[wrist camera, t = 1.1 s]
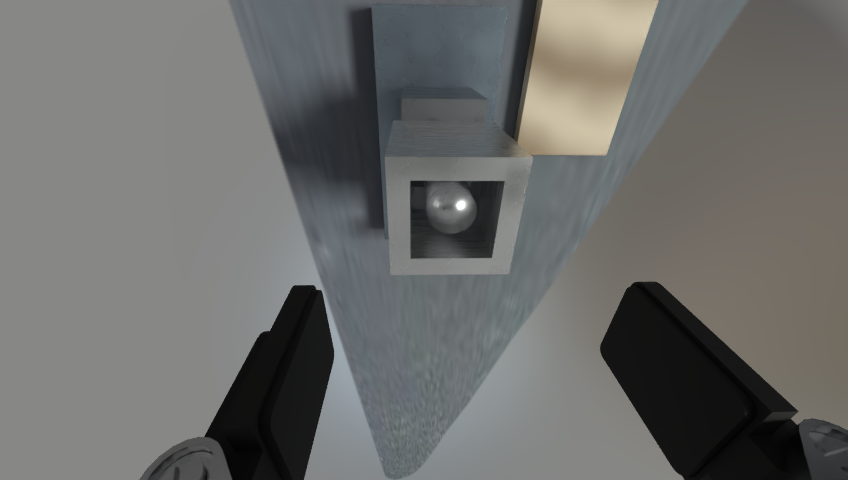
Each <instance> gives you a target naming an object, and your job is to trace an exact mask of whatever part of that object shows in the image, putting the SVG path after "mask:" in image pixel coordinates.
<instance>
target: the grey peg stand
mask: <svg viewBox="0 0 848 480" xmlns="http://www.w3.org/2000/svg"><path fill="white" fill-rule="evenodd" d="M371 7H372V24H373V41H374V58H375V75H376V92H377V109H378V126H379V143H380V161H381V178H382V195H383V212H384V229H385V239H389V232H388V213H387V193H386V173H385V153H386V149H387V145H388V140H389V136H390V132H391V128H392V124H393V120H400V121H486V122H493V120H494V113H495V105H496V98H497V90H498V82H499V75H500V67H501V60H502V52H503V44H504V37H505V29H506V22H507V14H508V7H474V6H437V5H399V4H371ZM470 186H471V181H411V198H426V209H427V217H428V220H429V222H430V224H431V225H432V227H433V228H435V229H436V230H438V231H440V232H442V233H447V234H454V233H459V232H461V231H463V230H465V229H467V228H468V227H469V226H470V225H471V224H472V223H473V221H474V219H475V217H476V213H477V207H476V203H475V201H474V198H473V196H472V193H471V191H470Z"/></svg>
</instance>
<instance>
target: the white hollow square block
mask: <svg viewBox="0 0 848 480" xmlns="http://www.w3.org/2000/svg"><path fill="white" fill-rule="evenodd" d="M532 161H533V157H532V156H531V155H530V154H529V153H528V152H527V151H525V150H524V149H523V148H522V147H521V146H520V145H519V144H518V143H517V142H516V141H515V140H513V139H512V138H511V137H510V136H509V135H508V134H507V133H506V132H505V131H504V130H503V129H501V128H500V127H499V126H498V125H497V124H496V123H495V122H486V121H400V120H393V124H392V128H391V132H390V136H389V140H388V145H387V149H386V153H385V173H386V193H387V213H388V232H389V252H390V272H391V275H447V274H509V271H510V266H511V261H512V256H513V252H514V247H515V242H516V237H517V233H518V228H519V223H520V218H521V214H522V209H523V204H524V199H525V195H526V190H527V185H528V180H529V176H530V171H531V166H532ZM411 181H471V186H470V191H471V193H472V196H473V198H474V201H475V203H476V207H477V213H476V217H475V219H474V221H473V223H472V224H471V225H470V226H469V227H468V228H467V229H465V230H463V231H461V232H459V233H454V234H447V233H442V232H440V231H438V230H436V229H435V228H433V227H432V225H431V224H430V222H429V220H428V217H427V209H426V198H411Z"/></svg>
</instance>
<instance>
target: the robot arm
mask: <svg viewBox="0 0 848 480" xmlns="http://www.w3.org/2000/svg"><path fill="white" fill-rule="evenodd" d="M600 351H601V355H602V357H603V359H604V360H605V361H606V363H607V365H608V366H609V368H610V369H611V371H612V373H613V374H614V376H615V377H616V379H617V381H618V382H619V384H620V385H621V387H622V389H623V390H624V392H625V393H626V395H627V396H628V398H629V400H630V401H631V403H632V404H633V406H634V407H635V409H636V411H637V412H638V414H639V415H640V417H641V418H642V420H643V422H644V423H645V425H646V426H647V428H648V430H649V431H650V433H651V434H652V436H653V437H654V439H655V441H656V442H657V444H658V445H659V447H660V448H661V450H662V452H663V453H664V455H665V456H666V458H667V460H668V461H669V463H670V464H671V466H672V467H673V468H674V470H675V471H676V472H677V473H678V474H680V475H682V476H683V478H684V480H848V430H846V429H844V428H842V427H840V426H838V425H835V424H832V423H830V422H827V421H824V420H818V419H813V418H812V419H805V420H803V421H802V422H800V423H799V424H798V425H797V424H795V423H794V422H793V421H792V420H791V419H790V418H792V417H793V416H794V415H795V414H796V413H797V412H798V411H797V410H796V409H795V408H794V407H793V406H792V405H791V404H790V403H789V402H788V401H787V400H786V399H784V398H783V397H782V396H781V395H780V394H779V393H778V392H777V391H776V390H775V389H774V388H772V387H771V386H770V385H769V384H768V383H767V382H766V381H765V380H764V379H763V378H762V377H761V376H759V375H758V374H757V373H756V372H755V371H754V370H753V369H752V368H751V367H750V366H749V365H748V364H746V363H745V362H744V361H743V360H742V359H741V358H740V357H739V356H738V355H737V354H736V353H735V352H733V351H732V350H731V349H730V348H729V347H728V346H727V345H726V344H725V343H724V342H723V341H722V340H720V339H719V338H718V337H717V336H716V335H715V334H714V333H713V332H712V331H710V329H709V328H707V327H706V326H705V325H704V324H703V323H702V322H701V321H700V320H699V319H698V318H696V317H695V316H694V315H693V314H692V313H691V312H690V311H689V310H688V309H687V308H686V307H685V306H684V305H682V304H681V303H680V302H679V301H678V300H677V299H676V298H675V297H674V296H673V295H672V294H671V293H669V292H668V291H667V290H666V289H665V288H664V287H663V286H662V285H661V284H659V283H657V282H635V283H633V284H632V285H631V286H630V287H628V288H627V289H626V291H625V293H624V296H623V298H622V300H621V302H620V304H619V306H618V309H617V311H616V313H615V315H614V317H613V319H612V321H611V324H610V326H609V328H608V330H607V332H606V334H605V337H604V339H603V341H602V343H601V346H600ZM333 360H334V348H333V343H332V338H331V333H330V328H329V323H328V318H327V313H326V308H325V304H324V298H323V294H322V291H321V290H316V287H315V286H314V285H303V286H302V285H297V286H296V285H295V286H293V287H292V289H291V291H290V293H289V294H288V297H287V299H286V300H285V302H284V304H283V306H282V308H281V310H280V312H279V314H278V316H277V318H276V320H275V322H274V324H273V326H272V328H271V330H270V331H266V332H263V333H261V334H260V335H259V337H258V338H257V340H256V342H255V343H254V345H253V347H252V349H251V351H250V353H249V355H248V356H247V358H246V360H245V362H244V364H243V366H242V368H241V370H240V371H239V373H238V375H237V377H236V379H235V381H234V383H233V384H232V386H231V388H230V390H229V392H228V394H227V395H226V397H225V399H224V401H223V403H222V405H221V407H220V408H219V410H218V412H217V414H216V416H215V418H214V420H213V422H212V423H211V425H210V427H209V429H208V431H207V433H206V435H205V437H197V438H192V439H188V440H185V441H183V442H181V443H179V444H177V445H175V446H173V447H172V448H170V449H169V450H167V451H166V452H165V453H163V454H162V455H160V456H159V457H158V458H157V459H156V460H155V461H154V462H153V463H152V464H151V465H150V466H149V467H148V468H147V470H146V471H145V472H144V474H143V475H142V477H141V478H140V480H304V476H305V472H306V469H307V465H308V461H309V457H310V453H311V449H312V445H313V441H314V437H315V432H316V429H317V425H318V421H319V417H320V413H321V409H322V404H323V401H324V397H325V393H326V389H327V385H328V381H329V377H330V373H331V369H332V365H333Z"/></svg>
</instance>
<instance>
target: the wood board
mask: <svg viewBox="0 0 848 480" xmlns="http://www.w3.org/2000/svg"><path fill="white" fill-rule="evenodd" d="M657 3H658V0H537V4H536V10H535V16H534V22H533V28H532V34H531V40H530V45H529V51H528V57H527V63H526V69H525V75H524V81H523V86H522V92H521V98H520V104H519V110H518V116H517V122H516V128H515V133H514V139H513V140H515V141H516V142H517V143H518V144H519V145H520V146H521V147H522V148H523V149H524V150H525V151H527V152H528V153H529V154H530V155H606V154H607V151H608V149H609V146H610V143H611V140H612V137H613V134H614V131H615V128H616V125H617V122H618V119H619V116H620V113H621V110H622V107H623V104H624V101H625V98H626V95H627V92H628V89H629V86H630V83H631V80H632V77H633V74H634V71H635V69H636V66H637V63H638V60H639V57H640V54H641V51H642V48H643V45H644V42H645V39H646V36H647V33H648V30H649V27H650V24H651V21H652V18H653V15H654V12H655V9H656V6H657Z"/></svg>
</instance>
